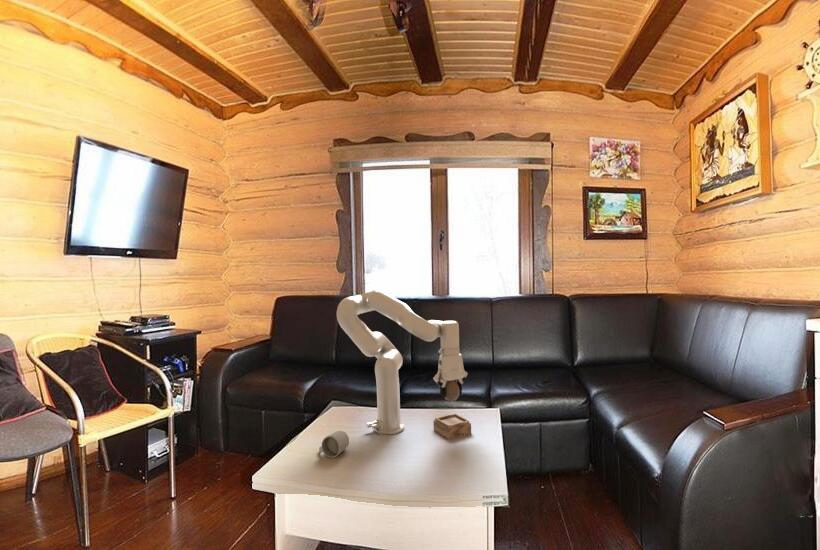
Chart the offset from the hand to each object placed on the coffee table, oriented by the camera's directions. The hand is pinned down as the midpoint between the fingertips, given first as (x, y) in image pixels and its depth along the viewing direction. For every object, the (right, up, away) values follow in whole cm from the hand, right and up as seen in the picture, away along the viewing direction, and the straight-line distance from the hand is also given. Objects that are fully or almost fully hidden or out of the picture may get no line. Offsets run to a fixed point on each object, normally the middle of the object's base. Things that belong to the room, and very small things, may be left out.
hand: (451, 394), depth 166 cm
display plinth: (0, -15, 0) cm, 15 cm away
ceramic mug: (-45, -17, -17) cm, 51 cm away
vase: (0, -2, 0) cm, 2 cm away
